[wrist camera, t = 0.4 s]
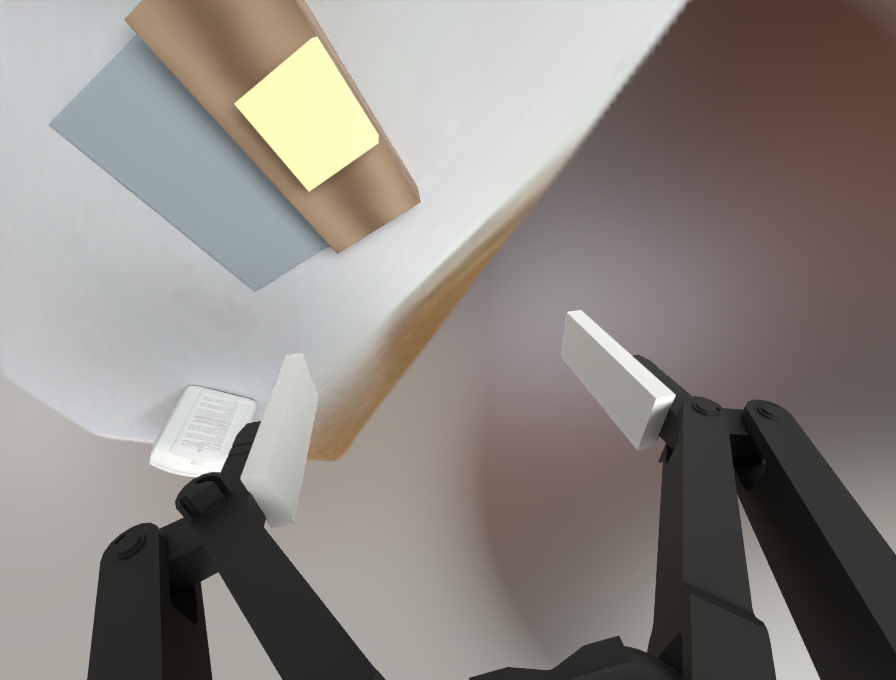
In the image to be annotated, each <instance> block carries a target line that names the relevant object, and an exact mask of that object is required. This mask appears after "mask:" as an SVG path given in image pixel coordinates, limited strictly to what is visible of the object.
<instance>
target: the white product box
mask: <svg viewBox="0 0 896 680" xmlns="http://www.w3.org/2000/svg"><path fill="white" fill-rule="evenodd" d="M257 408H258V405H257V403H256V402H255V401H253V400H251V399H247V398H244V397H240V396H236V395H232V394H228V393H224V392H220V391H216V390H212V389H208V388H203V387H199V386H188V387H187V388H185V389H184V391H183V393H182V394H181V396H180V398H179V400H178V401H177V403H176V405H175V407H174V409H173V410H172V412H171V414H170V416H169V418H168V419H167V421H166V423H165V425H164V426H163V428H162V430H161V432H160V433H159V435H158V437H157V439H156V441H155V443H154V445H153V448H152V451H151V458H150V462H149V464H151V465H153V466H154V467H157V468H159V469H161V470H164V471H167V472H170V473H173V474H177V475H182V476H188V477H199V476H200V475H202V474H206V473H209V472H221V470H222V468H223V465H224V463H225V461H226V458H227V457H228V454H229V451H230V449H231V448H232V444H233V442H234V440H235V438H236V435H237V434H238V433H239V432H240V430H241V429H242V428H243V427H244V426H245V425H246V424H247V423H252V422H253V419H254V417H255V414H256V411H257Z"/></svg>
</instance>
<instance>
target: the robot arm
mask: <svg viewBox="0 0 896 680" xmlns="http://www.w3.org/2000/svg"><path fill="white" fill-rule="evenodd" d="M561 357H562V358H563V359H564V361H565V362H566V363H567V364H568V366H569V367H570V368H571V369H572V370H573V372H574V373H575V374H576V375H577V376H578V378H579V379H580V380H581V382H582V383H583V384H584V385H585V386H586V388H587V389H588V390H589V391H590V393H591V394H592V395H593V396H594V397H595V399H596V400H597V401H598V402H599V404H600V405H601V406H602V407H603V409H604V410H605V411H606V412H607V413H608V415H609V416H610V417H611V418H612V420H613V421H614V422H615V423H616V424H617V426H618V427H619V428H620V429H621V430H622V432H623V433H624V434H625V436H626V437H627V438H628V439H629V441H630V442H631V443H632V444H633V445H634V447H635V448H636V449H637V450H641V449H646V448H650V447H655V445H656V443H657V440H658V438H659V436H660V437H661V438H662V439H663V440H664V441H665V442H666V445H665V448H664V449H663V452H662V454H661V456H660V459H659V462H660V463H661V462H662V461H663V470H662V486H661V503H660V520H659V537H658V538H659V539H658V555H657V572H656V590H655V607H654V622H653V629H652V633H651V636H650V640H649V645H648V650H647V653H646V652H644V651H641V650H639V649H635V648H631V647H627V646H624V645H623V643H622V641H621V639H620V637H619V636H616V637H612V638H609V639H605V640H602V641H598V642H595V643H591V644H588V645H584V646H583V647H581V648H580V649H579V650H577V651H576V652H575V653H574V654H572V655H571V656H569V657H568V658H567V659H566V660H564V661H563V662H562V663H560V664H559V665H558V666H556V667H555V668H553V669H551V670H537V669H525V668H512V667H506V668H503V669H499V670H496V671H492V672H488V673H485V674H482V675H478V676H474V677H471V678H469V680H776V675H775V668H774V662H773V656H772V650H771V643H770V638H769V634H768V631H767V628H766V626H765V625H764V623H763V622H762V621H760V620H759V619H757V618H756V617H755V615H754V613H753V608H752V602H751V594H750V587H749V580H748V572H747V565H746V557H745V550H744V542H743V536H742V528H741V520H740V514H739V505H738V498H737V495H738V497H739V499H740V501H741V504H742V506H743V508H744V510H745V513H746V515H747V517H748V519H749V521H750V523H751V526H752V528H753V530H754V533H755V535H756V537H757V539H758V541H759V544H760V546H761V548H762V550H763V553H764V555H765V557H766V559H767V561H768V564H769V566H770V568H771V570H772V573H773V574H774V577H775V579H776V582H777V584H778V586H779V588H780V590H781V593H782V595H783V597H784V599H785V602H786V604H787V606H788V608H789V610H790V613H791V615H792V617H793V619H794V622H795V624H796V626H797V628H798V630H799V633H800V635H801V637H802V639H803V641H804V644H805V646H806V648H807V651H808V652H809V655H810V657H811V659H812V662H813V664H814V666H815V668H816V671H817V673H818V675H819V677H820V680H896V555H895V553H894V552H893V551H892V549H891V548H890V547H889V545H888V544H887V542H886V541H885V540H884V539H883V537H882V536H881V534H880V533H879V532H878V530H877V529H876V528H875V526H874V525H873V524H872V522H871V521H870V520H869V518H868V517H867V516H866V514H865V513H864V512H863V510H862V509H861V507H860V506H859V505H858V504H857V502H856V501H855V499H854V498H853V497H852V495H851V494H850V493H849V491H848V490H847V489H846V487H845V486H844V485H843V483H842V482H841V481H840V479H839V478H838V477H837V475H836V474H835V473H834V471H833V470H832V468H831V467H830V466H829V464H828V463H827V462H826V460H825V459H824V458H823V456H822V455H821V454H820V452H819V451H818V450H817V448H816V447H815V446H814V444H813V443H812V442H811V440H810V439H809V438H808V436H807V435H806V433H805V432H804V431H803V429H802V428H801V427H800V425H799V424H798V423H797V421H796V420H795V419H794V417H793V416H792V415H791V414H790V413H789V412H788V411H787V410H786V409H784V408H782V407H781V406H779V405H777V404H775V403H772V402H769V401H764V400H751V401H748V403H747V404H746V406H745V408H744V410H742V409H741V410H740V409H725V408H722V407H721V406H720V405H719V404H717V403H715V402H714V401H712V400H709V399H707V398H704V397H697V396H693V397H692V396H691V395H690V394H689V393H688V392H686V391H685V390H684V389H683V388H682V387H681V386H679V385H678V384H677V383H676V382H675V381H673V380H672V379H671V378H670V377H669V376H666V374H665V373H664V372H663V371H662V370H659V368H658V367H657V366H656V365H655V364H654V363H652V362H651V361H650V360H648V359H646V358H644V357H642V356H640V355H633V356H632V355H630V354H629V353H628V352H627V351H626V350H625V349H624V348H623V347H622V346H620V345H619V344H618V343H617V342H616V341H615V340H614V339H613V338H611V337H610V336H609V335H608V334H607V333H606V332H605V331H604V330H603V329H601V328H600V327H599V326H598V325H597V324H596V323H595V322H594V321H592V320H591V319H590V318H589V317H588V316H587V315H586V314H585V313H583V312H582V311H581V310H578V311H571V312H567V314H566V321H565V328H564V335H563V342H562V349H561ZM318 398H319V396H318V393H317V391H316V388H315V385H314V382H313V379H312V377H311V374H310V371H309V368H308V366H307V363H306V360H305V357H304V354H303V353H296V354H290V355H286V356H285V358H284V361H283V364H282V367H281V369H280V372H279V375H278V377H277V380H276V383H275V385H274V388H273V391H272V394H271V396H270V399H269V402H268V404H267V407H266V410H265V413H264V415H263V418H262V421H259V422H253V423H247V424H246V425H245V426H244V427H243V428H242V429H241V430H240V432H239V433H238V434H237V435H236V438H235V440H234V442H233V444H232V448H231V449H230V451H229V454H228V457H227V458H226V461H225V463H224V465H223V468H222V470H221V472H209V473H206V474H202V475H200V476H199V477H197V478H195V479H193V480H192V481H190V482H189V483H188V484H187V485H185V486H184V488H183V489H182V490H181V491H180V493H179V494H178V496H177V498H176V501H175V504H176V509H177V510H178V511H179V512H180V513H181V514H182V515H183V517H184V518H182V519H180V520H178V521H176V522H173V523H172V524H169V525H167V526H164V527H162V528H160V529H159V528H158V527H157V526H156V525H154V524H152V523H142V524H139V525H136V526H134V527H132V528H130V529H128V530H126V531H125V532H123V533H122V534H120V535H119V536H118V537H117V538H116V539H115V540H114V541H113V542H111V543H110V545H109V546H108V548H107V549H106V550H105V552H104V553H103V556H102V559H101V562H100V571H99V580H98V588H97V597H96V606H95V616H94V625H93V634H92V643H91V651H90V660H89V669H88V678H87V680H212V672H211V664H210V655H209V648H208V639H207V630H206V622H205V614H204V605H203V597H202V589H201V581H203V580H205V579H206V578H208V577H210V576H212V575H214V574H216V573H217V572H219V574H220V575H221V577H222V579H223V580H224V582H225V584H226V586H227V587H228V589H229V591H230V592H231V594H232V596H233V597H234V599H235V601H236V602H237V604H238V606H239V607H240V609H241V611H242V612H243V614H244V616H245V617H246V619H247V621H248V622H249V624H250V626H251V628H252V629H253V631H254V633H255V634H256V636H257V638H258V639H259V641H260V643H261V644H262V646H263V648H264V649H265V651H266V653H267V654H268V656H269V658H270V660H271V661H272V663H273V665H274V666H275V668H276V670H277V671H278V673H279V674H280V676H281V678H282V680H385V679H384V677H383V676H382V675H381V674H380V673H379V672H378V671H377V670H376V669H375V668H374V666H373V665H372V664H371V663H370V662H369V660H368V659H367V658H366V657H365V655H364V654H363V653H362V652H361V650H360V649H359V648H358V646H357V645H356V644H355V643H354V641H353V640H352V639H351V637H350V636H349V635H348V634H347V632H346V631H345V630H344V629H343V627H342V626H341V625H340V623H339V622H338V621H337V620H336V618H335V617H334V616H333V615H332V613H331V612H330V611H329V610H328V608H327V607H326V606H325V604H324V603H323V602H322V601H321V599H320V598H319V597H318V596H317V594H316V593H315V592H314V591H313V589H312V588H311V587H310V585H309V584H308V583H307V582H306V580H305V579H304V578H303V576H302V575H301V574H300V573H299V571H298V570H297V569H296V568H295V567H294V565H293V564H292V563H291V561H290V560H289V559H288V557H287V556H286V555H285V554H284V552H283V551H282V550H281V549H280V547H279V546H278V545H277V544H276V542H275V541H274V540H273V538H272V537H271V536H270V535H269V533H268V532H267V531H266V529H265V528H264V524H265V520H267V521H268V523H269V525H270V526H271V528H272V527H277V526H282V525H287V524H291V523H294V522H295V517H296V512H297V506H298V501H299V496H300V491H301V486H302V480H303V475H304V470H305V464H306V460H307V455H308V449H309V444H310V439H311V434H312V429H313V424H314V418H315V413H316V408H317V403H318Z"/></svg>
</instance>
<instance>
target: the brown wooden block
mask: <svg viewBox="0 0 896 680" xmlns="http://www.w3.org/2000/svg"><path fill="white" fill-rule="evenodd" d="M124 20H125V21H126V22H127V23H128V24H129V26H130V27H131V28H132V29H133V30H134V31H135V32H136V33H137V34H138V35H139V37H140V38H141V39H142V40H143V41H144V42H145V43H146V44H147V45H148V46H149V48H150V49H151V50H152V51H153V52H154V53H155V54H156V55H157V56H158V57H159V58H160V60H161V61H162V62H163V63H164V64H165V65H166V66H167V67H168V68H169V69H170V71H171V72H172V73H173V74H174V75H175V76H176V77H177V78H178V79H179V80H180V82H181V83H182V84H183V85H184V86H185V87H186V88H187V89H188V90H189V91H190V93H191V94H192V95H193V96H194V97H195V98H196V99H197V100H198V101H199V102H200V103H201V105H202V106H203V107H204V108H205V109H206V110H207V111H208V112H209V113H210V114H211V116H212V117H213V118H214V119H215V120H216V121H217V122H218V123H219V124H220V125H221V127H222V128H223V129H224V130H225V131H226V132H227V133H228V134H229V135H230V136H231V137H232V139H233V140H234V141H235V142H236V143H237V144H238V145H239V146H240V147H241V148H242V150H243V151H244V152H245V153H246V154H247V155H248V156H249V157H250V158H251V159H252V161H253V162H254V163H255V164H256V165H257V166H258V167H259V168H260V169H261V170H262V171H263V173H264V174H265V175H266V176H267V177H268V178H269V179H270V180H271V181H272V182H273V184H274V185H275V186H276V187H277V188H278V189H279V190H280V191H281V192H282V193H283V195H284V196H285V197H286V198H287V199H288V200H289V201H290V202H291V203H292V204H293V205H294V207H295V208H296V209H297V210H298V211H299V212H300V213H301V214H302V215H303V216H304V218H305V219H306V220H307V221H308V222H309V223H310V224H311V225H312V226H313V227H314V229H315V230H316V231H317V232H318V233H319V234H320V235H321V236H322V237H323V238H324V239H325V241H326V242H327V243H328V244H329V245H330V246H331V247H332V248H333V249H334V250H335V252H336V253H337V254H338V253H340V252H342V251H343V250H345V249H346V248H348V247H350V246H351V245H353V244H354V243H356V242H358V241H359V240H361V239H362V238H364V237H366V236H367V235H369V234H370V233H372V232H374V231H375V230H377V229H378V228H380V227H382V226H383V225H385V224H386V223H388V222H390V221H391V220H393V219H394V218H396V217H398V216H399V215H401V214H402V213H404V212H406V211H407V210H409V209H410V208H412V207H414V206H415V205H417V204H418V203H420V197H419V191H418V187H417V185H416V183H415V182H414V180H413V179H412V177H411V175H410V174H409V172H408V170H407V169H406V167H405V165H404V164H403V162H402V160H401V159H400V157H399V156H398V154H397V152H396V151H395V149H394V147H393V146H392V144H391V142H390V141H389V139H388V137H387V136H386V134H385V132H384V131H383V129H382V128H381V126H380V124H379V123H378V121H377V119H376V118H375V116H374V114H373V113H372V111H371V109H370V108H369V106H368V105H367V103H366V101H365V100H364V98H363V96H362V95H361V93H360V91H359V90H358V88H357V86H356V85H355V83H354V82H353V80H352V78H351V77H350V75H349V73H348V72H347V70H346V68H345V67H344V65H343V63H342V62H341V60H340V58H339V57H338V55H337V54H336V52H335V50H334V49H333V47H332V45H331V44H330V42H329V40H328V39H327V37H326V35H325V34H324V32H323V31H322V29H321V27H320V26H319V24H318V22H317V21H316V19H315V17H314V16H313V14H312V12H311V11H310V9H309V8H308V6H307V4H306V3H305V1H304V0H142V1H141V2H140V3H139V4H138V5H137V6H136V8H135V9H134V10H133V11H132V12H131V13H130V14H129V15H128V16H127V17H126V18H125V19H124ZM314 37H318V38H319V40H320V42H321V43H322V45H323V46H324V48H325V50H326V51H327V53H328V54H329V56H330V58H331V59H332V61H333V63H334V64H335V66H336V67H337V69H338V71H339V72H340V74H341V75H342V77H343V79H344V80H345V82H346V83H347V85H348V87H349V88H350V90H351V91H352V93H353V95H354V96H355V98H356V99H357V101H358V103H359V104H360V106H361V108H362V109H363V111H364V112H365V114H366V116H367V117H368V119H369V120H370V122H371V124H372V125H373V127H374V128H375V130H376V132H377V133H378V135H379V139H378V144H377V145H375V146H374V147H372V148H371V149H369V150H368V151H367V152H365V153H364V154H362V155H361V156H359V157H358V158H357V159H355V160H354V161H352V162H351V163H349V164H348V165H347V166H345V167H344V168H342V169H341V170H340V171H338V172H337V173H335V174H334V175H332V176H331V177H330V178H328V179H327V180H325V181H324V182H322V183H321V184H320V185H318V186H317V187H315V188H314V189H312V190H311V191H310V192H309V191H308V190H307V189H306V188H305V187H304V185H303V184H302V183H301V182H300V181H299V180H298V178H297V177H296V176H295V175H294V174H293V172H292V171H291V170H290V169H289V168H288V167H287V165H286V164H285V163H284V162H283V161H282V160H281V158H280V157H279V156H278V155H277V154H276V152H275V151H274V150H273V149H272V148H271V147H270V145H269V144H268V143H267V142H266V141H265V140H264V138H263V137H262V136H261V135H260V134H259V133H258V131H257V130H256V129H255V128H254V127H253V125H252V124H251V123H250V122H249V121H248V120H247V118H246V117H245V116H244V115H243V114H242V113H241V111H240V110H239V109H238V108H237V107H236V105H235V104H234V103H235V102H237V101H238V100H239V99H240V98H241V97H243V96H244V95H245V94H246V93H247V92H248V91H250V90H251V89H252V88H253V87H254V86H256V85H257V84H258V83H259V82H260V81H261V80H263V79H264V78H265V77H266V76H267V75H269V74H270V73H271V72H272V71H273V70H274V69H276V68H277V67H278V66H279V65H280V64H282V63H283V62H284V61H285V60H286V59H287V58H289V57H290V56H291V55H292V54H293V53H295V52H296V51H297V50H298V49H299V48H300V47H302V46H303V45H304V44H305V43H306V42H308V41H309V40H310V39H311V38H314Z"/></svg>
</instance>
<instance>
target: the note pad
mask: <svg viewBox="0 0 896 680" xmlns="http://www.w3.org/2000/svg"><path fill="white" fill-rule="evenodd" d="M234 104H235V105H236V107H237V108H238V109H239V110H240V111H241V113H242V114H243V115H244V116H245V117H246V118H247V120H248V121H249V122H250V123H251V124H252V125H253V127H254V128H255V129H256V130H257V131H258V133H259V134H260V135H261V136H262V137H263V138H264V140H265V141H266V142H267V143H268V144H269V145H270V147H271V148H272V149H273V150H274V151H275V152H276V154H277V155H278V156H279V157H280V158H281V160H282V161H283V162H284V163H285V164H286V165H287V167H288V168H289V169H290V170H291V171H292V172H293V174H294V175H295V176H296V177H297V178H298V180H299V181H300V182H301V183H302V184H303V185H304V187H305V188H306V189H307V190H308V191H309V192H310V191H311V190H312V189H314V188H315V187H317V186H318V185H320V184H321V183H322V182H324V181H325V180H327V179H328V178H330V177H331V176H332V175H334V174H335V173H337V172H338V171H340V170H341V169H342V168H344V167H345V166H347V165H348V164H349V163H351V162H352V161H354V160H355V159H357V158H358V157H359V156H361V155H362V154H364V153H365V152H367V151H368V150H369V149H371V148H372V147H374V146H375V145H377V144H378V139H379V135H378V133H377V132H376V130H375V128H374V127H373V125H372V124H371V122H370V120H369V119H368V117H367V116H366V114H365V112H364V111H363V109H362V108H361V106H360V104H359V103H358V101H357V99H356V98H355V96H354V95H353V93H352V91H351V90H350V88H349V87H348V85H347V83H346V82H345V80H344V79H343V77H342V75H341V74H340V72H339V71H338V69H337V67H336V66H335V64H334V63H333V61H332V59H331V58H330V56H329V54H328V53H327V51H326V50H325V48H324V46H323V45H322V43H321V42H320V40H319V38H318V37H314V38H311V39H310V40H309V41H308V42H306V43H305V44H304V45H303V46H302V47H300V48H299V49H298V50H297V51H296V52H295V53H293V54H292V55H291V56H290V57H289V58H287V59H286V60H285V61H284V62H283V63H282V64H280V65H279V66H278V67H277V68H276V69H274V70H273V71H272V72H271V73H270V74H269V75H267V76H266V77H265V78H264V79H263V80H261V81H260V82H259V83H258V84H257V85H256V86H254V87H253V88H252V89H251V90H250V91H248V92H247V93H246V94H245V95H244V96H243V97H241V98H240V99H239V100H238V101H237V102H235V103H234Z"/></svg>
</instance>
